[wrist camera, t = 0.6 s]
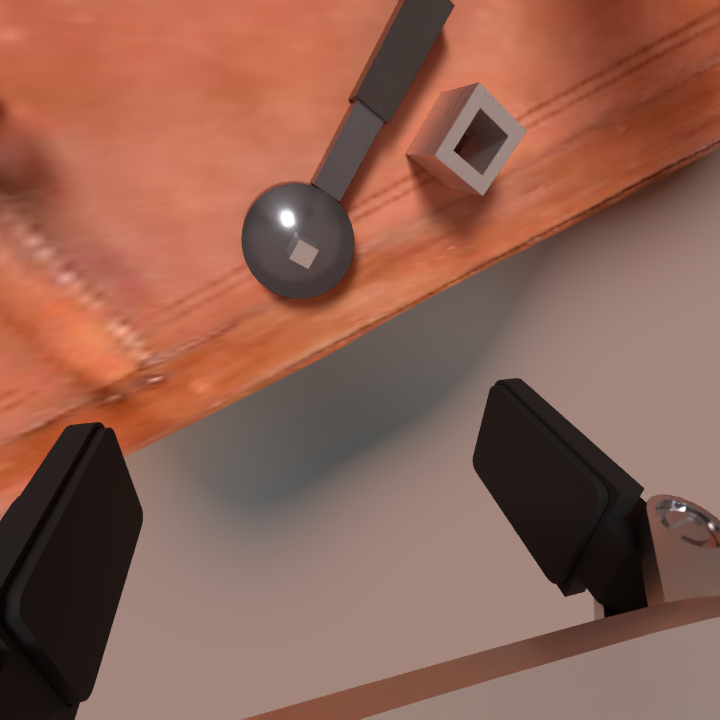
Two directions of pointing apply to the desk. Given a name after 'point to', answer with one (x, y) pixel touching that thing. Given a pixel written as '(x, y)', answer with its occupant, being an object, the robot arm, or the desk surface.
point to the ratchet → (337, 167)
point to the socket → (482, 148)
